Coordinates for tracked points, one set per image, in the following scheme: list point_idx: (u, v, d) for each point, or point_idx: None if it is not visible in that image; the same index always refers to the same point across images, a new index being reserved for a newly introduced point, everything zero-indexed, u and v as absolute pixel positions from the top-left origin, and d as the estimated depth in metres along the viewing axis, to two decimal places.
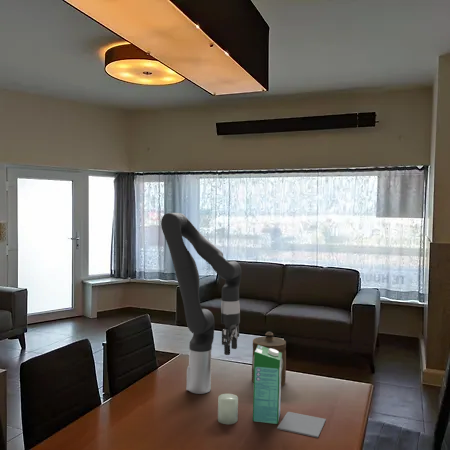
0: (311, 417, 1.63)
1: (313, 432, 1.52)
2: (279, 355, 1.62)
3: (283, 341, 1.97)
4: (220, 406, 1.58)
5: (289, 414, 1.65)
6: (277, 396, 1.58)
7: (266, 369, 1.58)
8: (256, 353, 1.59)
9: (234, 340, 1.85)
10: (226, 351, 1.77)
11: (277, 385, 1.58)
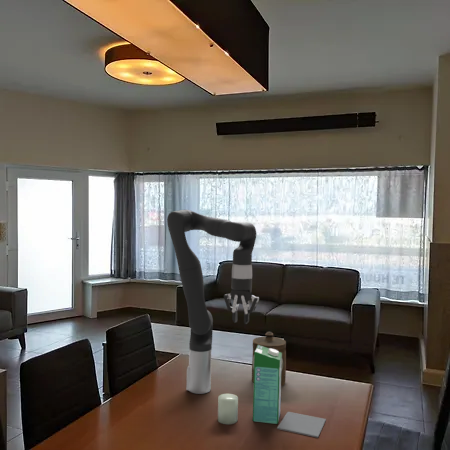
0: (311, 417, 1.63)
1: (313, 432, 1.52)
2: (279, 355, 1.62)
3: (283, 341, 1.97)
4: (220, 406, 1.58)
5: (289, 414, 1.65)
6: (277, 396, 1.58)
7: (266, 369, 1.58)
8: (256, 353, 1.59)
9: (236, 312, 1.68)
10: None
11: (277, 385, 1.58)
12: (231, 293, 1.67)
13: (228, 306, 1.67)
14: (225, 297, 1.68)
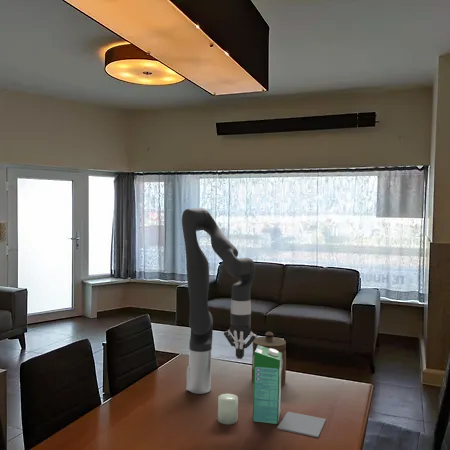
0: (311, 417, 1.63)
1: (313, 432, 1.52)
2: (279, 355, 1.62)
3: (283, 341, 1.97)
4: (220, 406, 1.58)
5: (289, 414, 1.65)
6: (277, 396, 1.58)
7: (266, 369, 1.58)
8: (256, 353, 1.59)
9: None
10: None
11: (277, 385, 1.58)
12: (230, 329, 1.67)
13: (231, 342, 1.67)
14: (225, 334, 1.68)
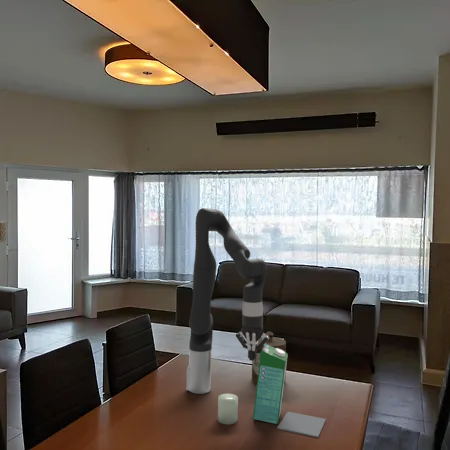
0: (311, 417, 1.63)
1: (313, 432, 1.52)
2: (285, 356, 1.62)
3: (283, 341, 1.97)
4: (220, 406, 1.58)
5: (289, 414, 1.65)
6: (279, 396, 1.58)
7: (271, 369, 1.58)
8: (262, 352, 1.58)
9: None
10: None
11: (281, 386, 1.57)
12: (242, 330, 1.66)
13: (243, 344, 1.66)
14: (237, 336, 1.66)
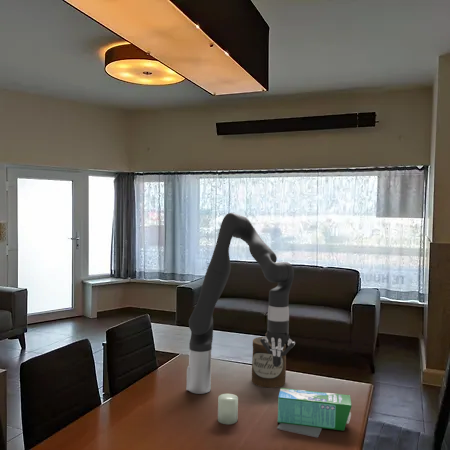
0: None
1: (313, 432, 1.52)
2: None
3: None
4: (220, 406, 1.58)
5: None
6: (305, 424, 1.56)
7: (333, 416, 1.54)
8: (349, 407, 1.53)
9: None
10: None
11: (317, 425, 1.55)
12: (267, 335, 1.62)
13: (268, 350, 1.61)
14: (262, 341, 1.62)
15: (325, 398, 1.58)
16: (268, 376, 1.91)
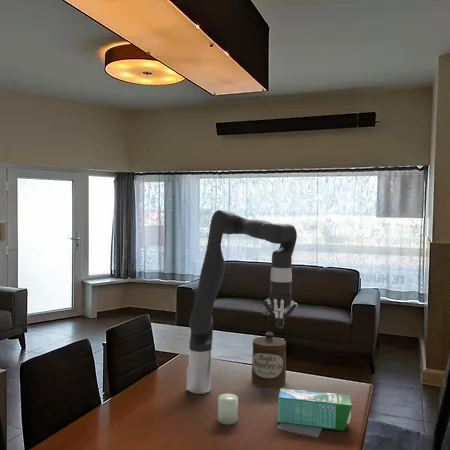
0: None
1: (313, 432, 1.52)
2: None
3: (283, 341, 1.97)
4: (220, 406, 1.58)
5: None
6: (306, 424, 1.56)
7: (333, 416, 1.54)
8: (350, 407, 1.53)
9: None
10: None
11: (317, 425, 1.55)
12: (270, 297, 1.61)
13: (270, 311, 1.61)
14: (265, 303, 1.62)
15: (325, 398, 1.58)
16: (268, 376, 1.91)
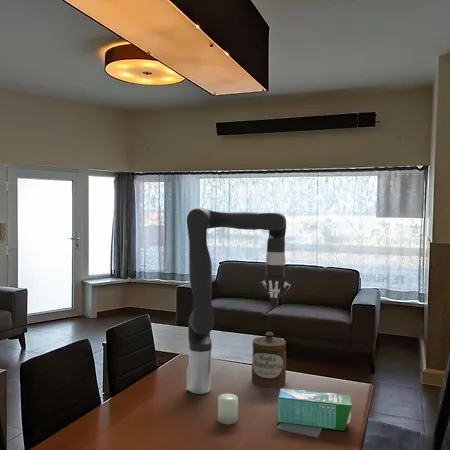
0: None
1: (313, 432, 1.52)
2: None
3: (283, 341, 1.97)
4: (220, 406, 1.58)
5: None
6: (306, 424, 1.56)
7: (333, 416, 1.54)
8: (350, 407, 1.53)
9: None
10: None
11: (317, 425, 1.55)
12: (265, 279, 1.78)
13: (266, 292, 1.78)
14: (261, 284, 1.79)
15: (325, 398, 1.58)
16: (268, 376, 1.91)
